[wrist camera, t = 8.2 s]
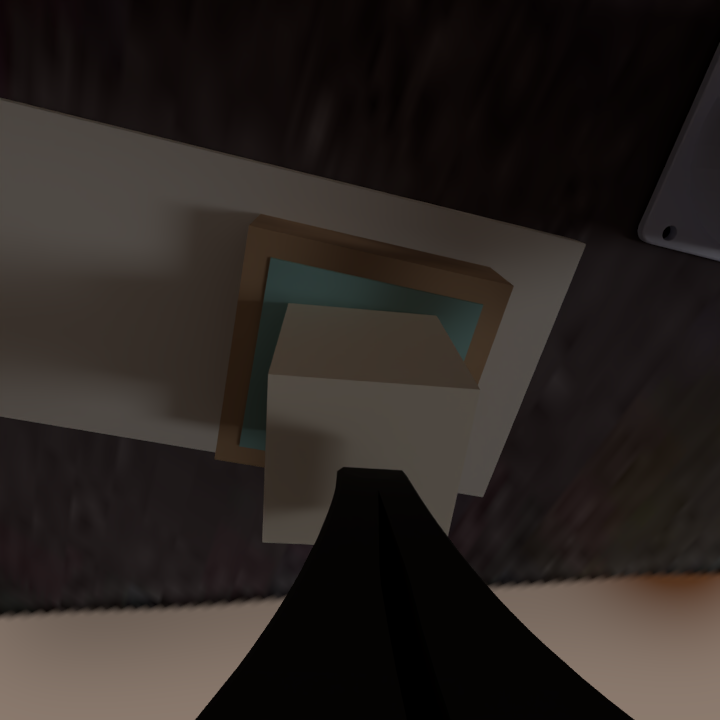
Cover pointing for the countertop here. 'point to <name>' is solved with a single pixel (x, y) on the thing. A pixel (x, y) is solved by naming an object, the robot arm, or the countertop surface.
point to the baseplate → (204, 277)
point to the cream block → (361, 412)
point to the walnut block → (347, 290)
